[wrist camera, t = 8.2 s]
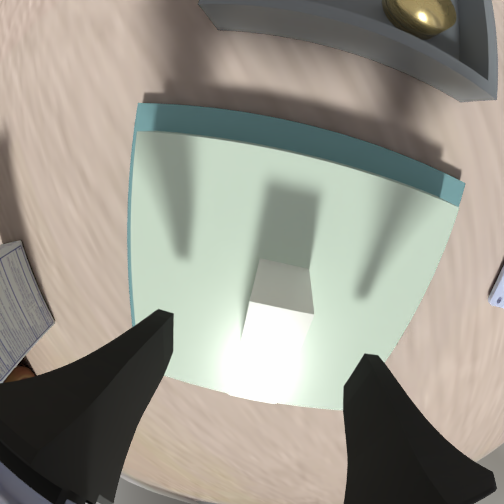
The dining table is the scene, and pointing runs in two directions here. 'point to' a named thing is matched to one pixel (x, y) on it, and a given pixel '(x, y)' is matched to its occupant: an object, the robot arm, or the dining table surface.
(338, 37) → the tub
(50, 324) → the medicine box
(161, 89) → the dining table surface
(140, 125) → the mat
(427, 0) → the bowl
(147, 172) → the lid
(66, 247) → the dining table surface
